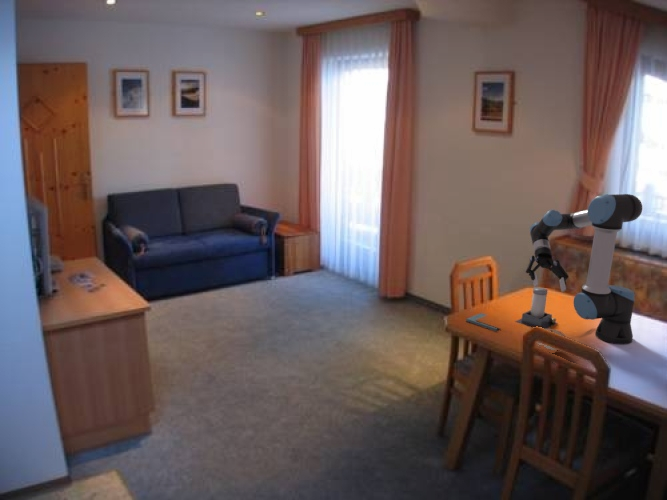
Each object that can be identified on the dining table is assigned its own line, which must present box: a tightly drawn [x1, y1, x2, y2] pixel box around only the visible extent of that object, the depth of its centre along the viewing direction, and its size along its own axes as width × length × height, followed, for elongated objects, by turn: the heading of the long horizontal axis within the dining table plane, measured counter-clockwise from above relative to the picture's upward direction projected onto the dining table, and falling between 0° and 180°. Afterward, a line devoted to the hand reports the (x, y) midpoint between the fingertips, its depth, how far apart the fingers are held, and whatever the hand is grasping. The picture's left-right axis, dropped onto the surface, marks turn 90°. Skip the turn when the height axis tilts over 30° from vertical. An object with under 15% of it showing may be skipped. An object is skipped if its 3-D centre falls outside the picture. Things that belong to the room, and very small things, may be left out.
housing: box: [514, 309, 558, 329], centre depth 293 cm, size 14×14×6 cm
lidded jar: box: [537, 328, 566, 350], centre depth 265 cm, size 11×11×9 cm
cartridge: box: [530, 286, 548, 318], centre depth 291 cm, size 6×6×16 cm
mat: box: [465, 312, 501, 332], centre depth 295 cm, size 16×12×1 cm
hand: (550, 288), depth 288 cm, fingers open, 13 cm apart
